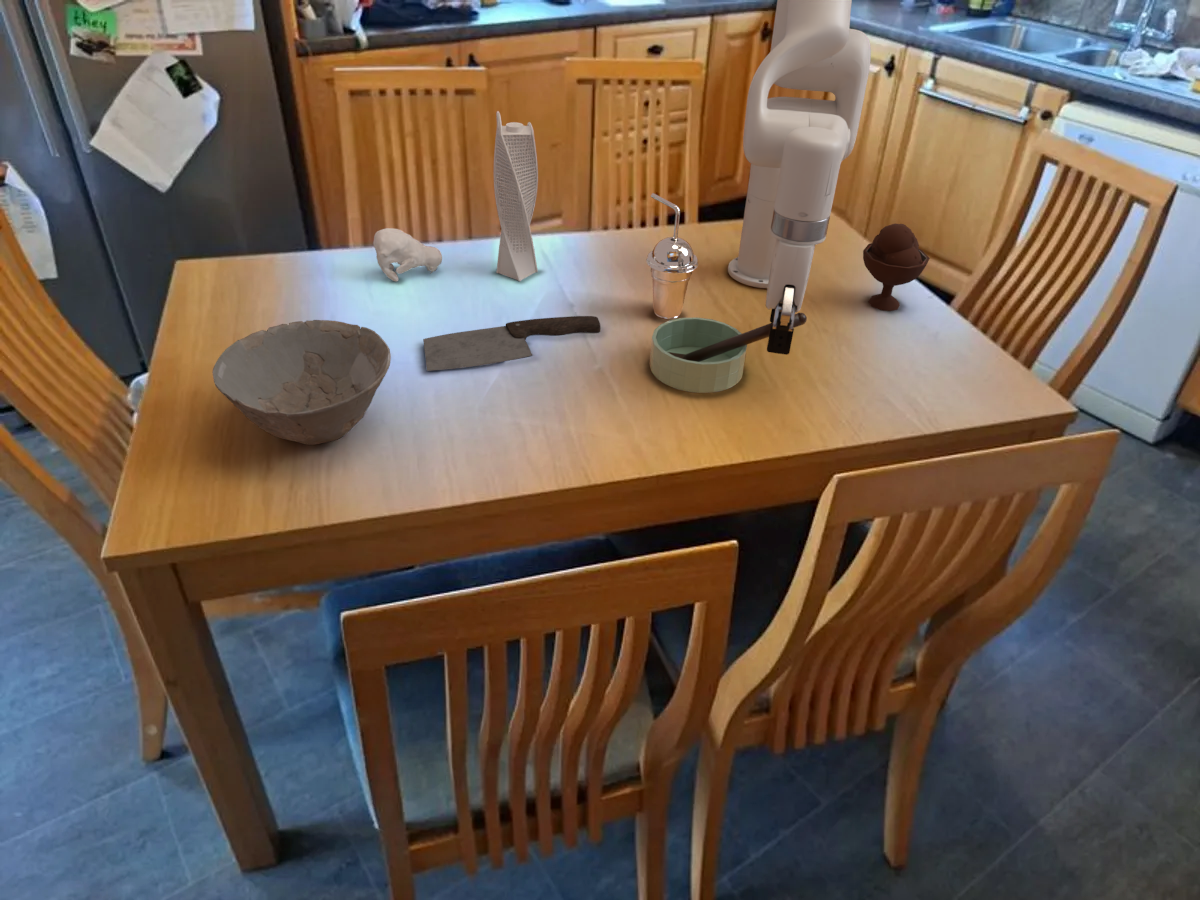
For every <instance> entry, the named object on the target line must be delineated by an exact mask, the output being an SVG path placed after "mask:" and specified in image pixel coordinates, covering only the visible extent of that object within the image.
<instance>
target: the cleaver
mask: <svg viewBox="0 0 1200 900" xmlns="http://www.w3.org/2000/svg"><path fill="white" fill-rule="evenodd" d="M600 332H601V322H600V319H599V318H598V317H597V316H594V315H574V316H573V315H572V316H571V315H570V316H558V317H557V316H555V317H544V318H542V317H541V318H532V319H523V320H516V321H509V322H506V323H505V325H502V326H495V327H494V326H493V327H488V328H486V327H485V328H479V329H471V330H465V331H458V332H452V333H446V334H445V333H444V334H440V335H434V336H430V337H426V338H423V339H422V341H423V350H424V357H425V367H426V372H428V371H429V372H432V371H444V370H457V369H463V368H472V367H480V366H485V365H486V366H487V365H492V364H498V363H504V362H508V361H513V360H514V361H515V360H518V359H523V358H527V357H531V356H533V353H532V351H531V348H530V346H529V344H528V343H527V338H528V337H530V336H565V335H569V334H570V335H571V334H575V333H590V334H591V333H596V334H597V333H598V334H599V333H600Z"/></svg>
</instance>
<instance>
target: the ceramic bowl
mask: <svg viewBox="0 0 1200 900" xmlns="http://www.w3.org/2000/svg"><path fill="white" fill-rule="evenodd" d="M391 361H392V353H391V348H390V347H389V346H388V344H387V342H386V341H385V340H384V339H383V337H381V335H379V334H378V333H377V332H376V331H375V330H374V329H371V328H368V327H365V326H359V325H358V324H352V323H347V322H345V321H338V320H330V319H313V320H305V321H302V320H298V321H292V322H288V323H281V324H278V325H274V326H270V327H268V328H267V330H264V329H261V330H258V331H255V332H251V333H250V334H248V335H247V336H244V337H243V338H240V339H237V340H236V341H234V342H233V343H232V344H230V345H229V346H228V347H226V348H225V349H224V351H222V353H221V354H220V355H219V357H218V359H217V360H216V362H215V363H214V366H213V367H212V378H213V383H214V385H215V387H216V388H217V390H218V391H219V392H220V393H221V394H222V395H223V396H224V397H225V398H226V399H227V400H228V401H230V403H232V404H233V406H234V407H236V409H238V410H239V411H240V412H241V413H242V414H243V415H244V416H245V417H246V418H247V419H248V420H249V421H250V422H252V423H253V424H254V425H256V426H257V427H259V428H260V429H261V430H263V431H264V432H266V433H268V434H270V435H271V436H273V437H276V438H280V439H282V440H286V441H291V442H295V443H300V444H303V445H310V446H313V445H314V446H315V445H320V444H324V443H331V442H334V441H337V440H340V439H341V438H343V437H344V436H345V435H346V434H348V433H349V432H350V431H351V430H352V429H353V428H354V426H355V425H357V423H359V421H361V419H362V418H364V415H365V414H366V412H367V410H368V409H369V407H370V405H371V403H372V401H373V398H374V396H375V394H376V392H377V390H378V389H379V387H380V385H381V384H382V382H383V381H384V378H385V377H386V375H387V372H388V370H389V369H390V366H391Z"/></svg>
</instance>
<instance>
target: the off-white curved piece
mask: <svg viewBox="0 0 1200 900" xmlns="http://www.w3.org/2000/svg"><path fill="white" fill-rule="evenodd" d="M372 245H373V247H374V251H375V255H376V257H375V258H376V260H377V265H378V266H379V268H380V269H381V271H382V272H383V273H384V274H385V276H386V277H387V278H388V279H389V280H392V282H395V283H396V282H398V281H399V276H398V275H401V274H404V273H406V272H408V271H410V270H411V269H416V268H419V267H425V268H426V270H427V272H429V274H430V275H431V274H432V273H433V272H436V270H437V269H438V267H439V266H440V265H441V264H442V263H443V262H442V261H443V254H442V252H441V250H440V249H439V248H437V247H435V246H431V245H425V243H421V242H420V241H419V240H418V239H417V238H414V237H413V236H412V235H411V234H409V233H406V232H405V231H404V230H401V229H400V228H393V227H390V228H389V227H385V228H382V229H380V230H377V231H376V232H375V234H374V236H373V242H372ZM396 263H397V265H399V266H397V267H395V266H394V264H396Z"/></svg>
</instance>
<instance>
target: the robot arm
mask: <svg viewBox="0 0 1200 900" xmlns="http://www.w3.org/2000/svg"><path fill="white" fill-rule="evenodd" d="M852 1H853V0H777V2H776V8H775V15H774V16H775V17H774V22H773V30H772V31H773V32H772V37H771V46H770V52H769V53H768V54H767V55H766V56H765V58H763V60H762V61H761V62H760V64H759V66H758V67H757V69H756V71H755V73H754V75H753V77H752V80H751V82H750V85H749V89H748V92H747V97H746V98H747V99H746V108H745V116H744V127H743V137H742V140H743V142H742V147H743V153H744V157H745V158H746V160H747V161H748V162H749V164H750V168H749V179H748V183H747V184H748V185H747V192H746V200H745V207H744V212H743V220H742V228H741V234H740V241H739V249H738V256H737V257H734V258H733V259H732V260H730V261H729V263H728V266H727V273H728V275H729V276H730V277H731V278H732V279H734V280H735V281H737V282H738V283H740V284H742V285H745V286H748V287H753V288H758V289H766V296H765V307H766V309H767V310H770V317H769V322H770V323H772V322H773V326H771V328H770V334H769V337H768V340H767V345H766V352H768V353H771V354H778V355H786V356H787V355H789V354H790V353H791V347H792V342H793V336H794V333H795V331H794V330H795V328H793V323H794V317H795V314H797V313H799V312H800V311H801V309H802V307H803V306H802V305H803V302H804V297H805V295H806V290H807V285H808V282H809V278H810V274H811V267H812V264H813V259H814V253H815V250H816V249H815V248H816V245H820V244H823V243H824V241H825V240H827V239H826V238H827V233H828V229H829V225H830V219H831V214H832V208H833V204H834V199H835V193H836V189H837V183H838V179H839V174H840V170H841V164H842V162H843V161H844V160H846V159H848V157H849V156H851V154H852V152H853V150H854V147H855V145H856V141H857V136H858V132H859V127H860V121H861V116H862V111H863V105H864V100H865V95H866V90H867V84H868V81H869V80H868V79H869V75H870V68H871V67H870V66H871V59H872V49H871V41H870V39H869V37H868V35H867V34H866V33H865V32H863V30H858V29H855V28H850V26H851V12H852V4H853V3H852ZM773 85H775V86H777V87H780V88H783V89H789V90H799V91H811V92H824V93H825V92H826V93H831V94H833V95H834V97H835V99H834V100H830V99H818V98H817V99H815V98H810V97H809V98H807V97H796V96H774V97H769V93H770V90H771V88H772V87H773Z"/></svg>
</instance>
